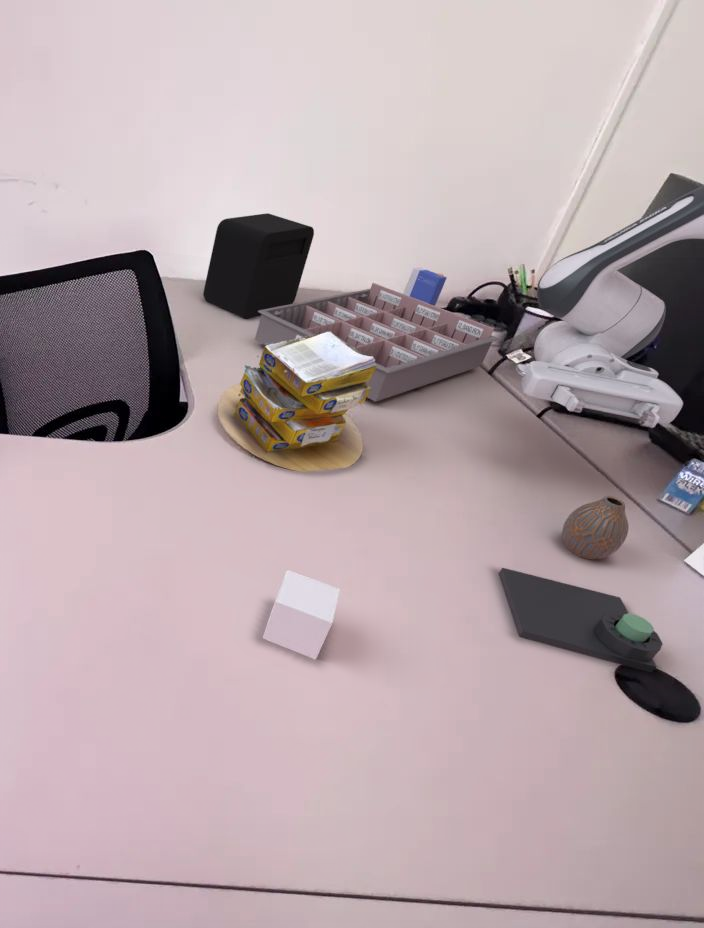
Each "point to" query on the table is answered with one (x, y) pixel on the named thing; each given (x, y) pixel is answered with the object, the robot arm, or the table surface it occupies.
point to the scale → (574, 620)
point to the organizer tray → (386, 335)
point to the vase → (596, 528)
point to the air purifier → (256, 263)
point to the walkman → (425, 285)
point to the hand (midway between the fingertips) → (614, 414)
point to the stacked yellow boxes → (300, 404)
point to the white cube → (302, 614)
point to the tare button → (634, 628)
